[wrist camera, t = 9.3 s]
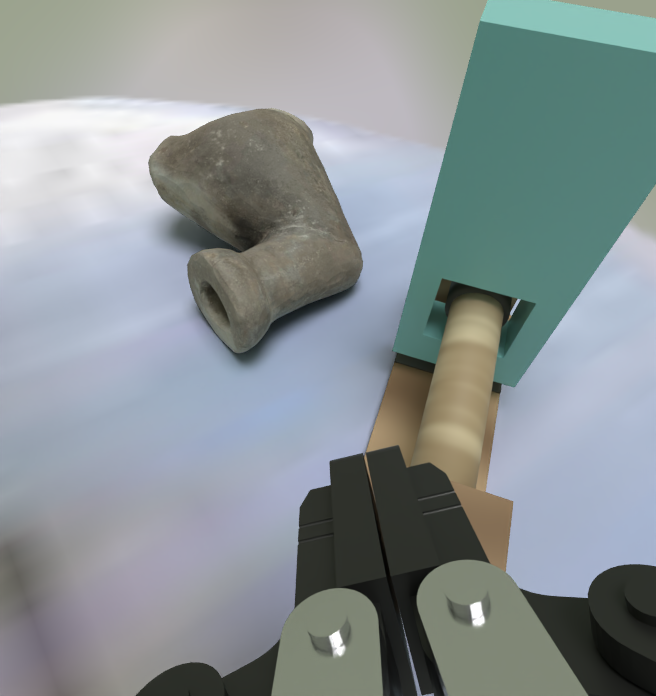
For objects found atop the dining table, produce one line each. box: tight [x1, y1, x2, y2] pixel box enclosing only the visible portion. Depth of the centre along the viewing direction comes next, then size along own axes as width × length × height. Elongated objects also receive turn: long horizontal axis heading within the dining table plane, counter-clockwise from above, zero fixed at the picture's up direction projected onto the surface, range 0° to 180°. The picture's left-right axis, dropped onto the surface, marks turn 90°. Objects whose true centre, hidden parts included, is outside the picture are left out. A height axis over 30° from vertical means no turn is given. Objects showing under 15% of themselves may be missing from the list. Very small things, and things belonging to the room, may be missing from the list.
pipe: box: [148, 108, 363, 353], centre depth 31 cm, size 16×9×15 cm
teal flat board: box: [392, 0, 656, 387], centre depth 20 cm, size 2×6×16 cm, turn 71°
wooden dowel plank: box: [364, 278, 517, 572], centre depth 23 cm, size 18×6×8 cm, turn 161°
